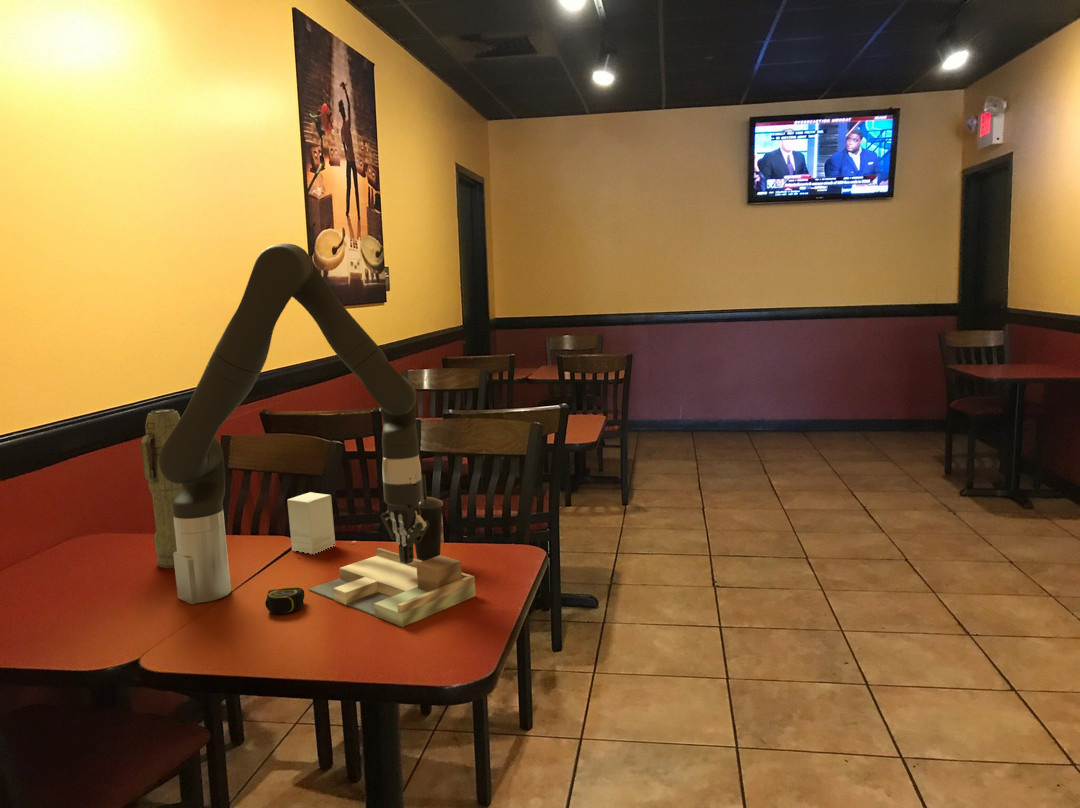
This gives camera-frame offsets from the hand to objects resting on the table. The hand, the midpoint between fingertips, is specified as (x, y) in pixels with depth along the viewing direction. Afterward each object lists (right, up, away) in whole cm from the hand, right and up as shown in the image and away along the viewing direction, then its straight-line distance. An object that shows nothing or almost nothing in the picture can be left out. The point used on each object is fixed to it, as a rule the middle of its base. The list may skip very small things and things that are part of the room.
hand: (406, 562), depth 163 cm
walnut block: (+8, -4, -6) cm, 10 cm away
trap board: (-3, -6, -2) cm, 7 cm away
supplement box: (-27, -3, +29) cm, 39 cm away
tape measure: (-22, -8, -7) cm, 25 cm away
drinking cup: (+2, -3, +15) cm, 15 cm away
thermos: (-56, -5, +23) cm, 61 cm away
